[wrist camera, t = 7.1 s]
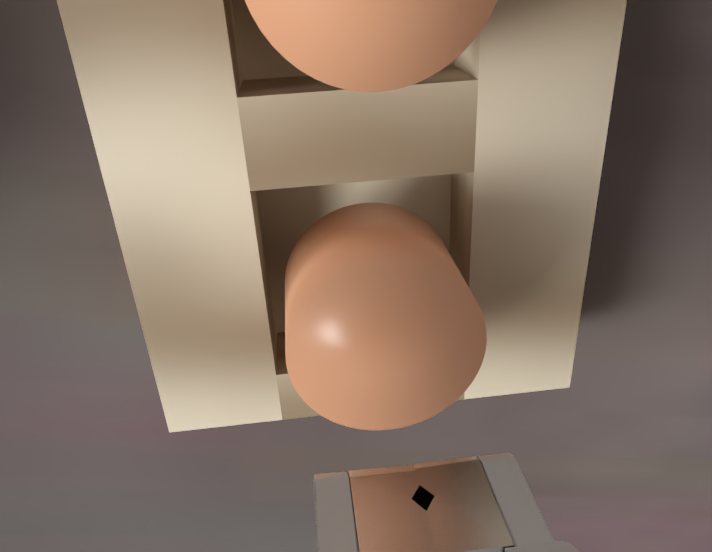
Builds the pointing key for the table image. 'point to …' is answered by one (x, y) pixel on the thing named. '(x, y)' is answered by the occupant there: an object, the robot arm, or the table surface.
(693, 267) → the table surface
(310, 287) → the button
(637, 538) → the table surface
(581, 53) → the wooden egg tray
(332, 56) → the button mid
